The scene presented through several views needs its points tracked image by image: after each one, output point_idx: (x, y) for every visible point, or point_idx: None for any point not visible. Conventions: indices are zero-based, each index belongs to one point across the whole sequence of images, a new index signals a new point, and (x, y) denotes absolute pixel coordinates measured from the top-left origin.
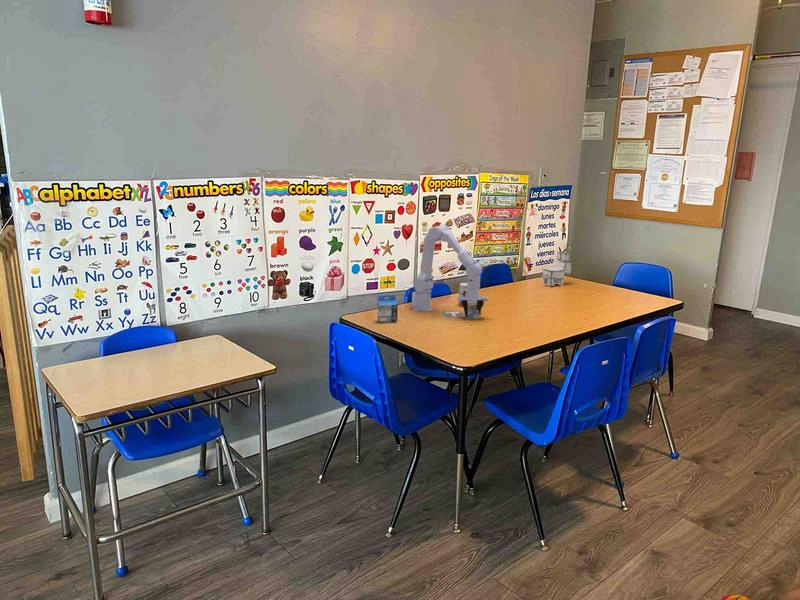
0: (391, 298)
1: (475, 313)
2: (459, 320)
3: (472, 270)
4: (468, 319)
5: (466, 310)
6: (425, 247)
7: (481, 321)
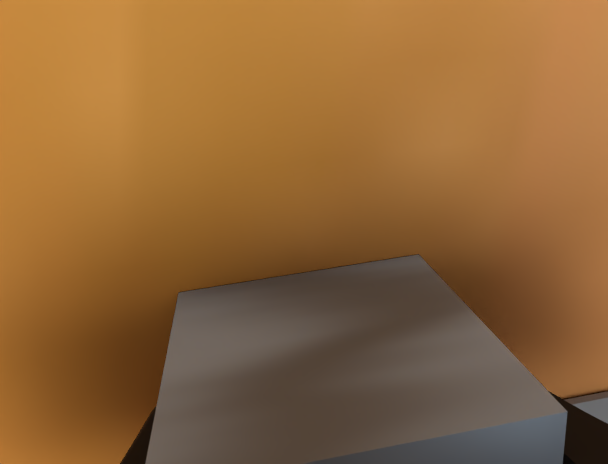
0: None
1: (253, 378)
2: (597, 204)
3: None
4: (403, 263)
5: (579, 433)
6: None
7: (87, 184)
